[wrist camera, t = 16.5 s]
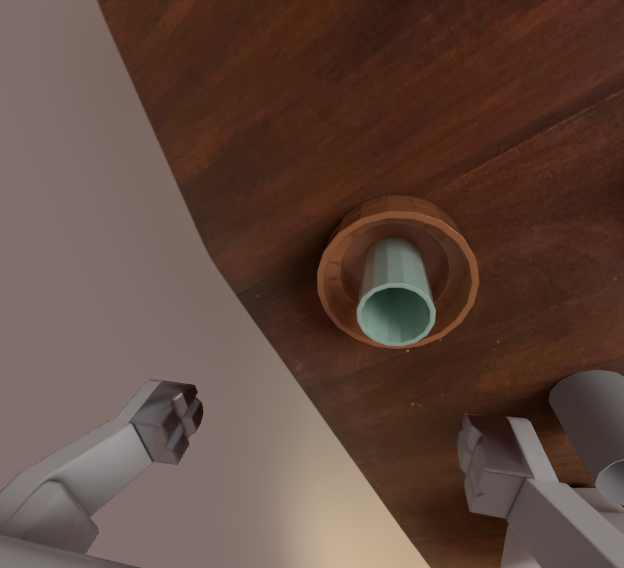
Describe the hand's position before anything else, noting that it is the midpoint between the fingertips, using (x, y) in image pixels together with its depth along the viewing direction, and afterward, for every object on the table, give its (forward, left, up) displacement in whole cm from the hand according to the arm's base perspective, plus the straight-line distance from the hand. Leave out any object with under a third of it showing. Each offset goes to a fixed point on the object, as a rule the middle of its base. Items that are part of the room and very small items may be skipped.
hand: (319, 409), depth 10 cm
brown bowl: (+5, -5, -26) cm, 27 cm away
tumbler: (+5, -5, -25) cm, 26 cm away
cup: (+33, -13, -26) cm, 44 cm away
